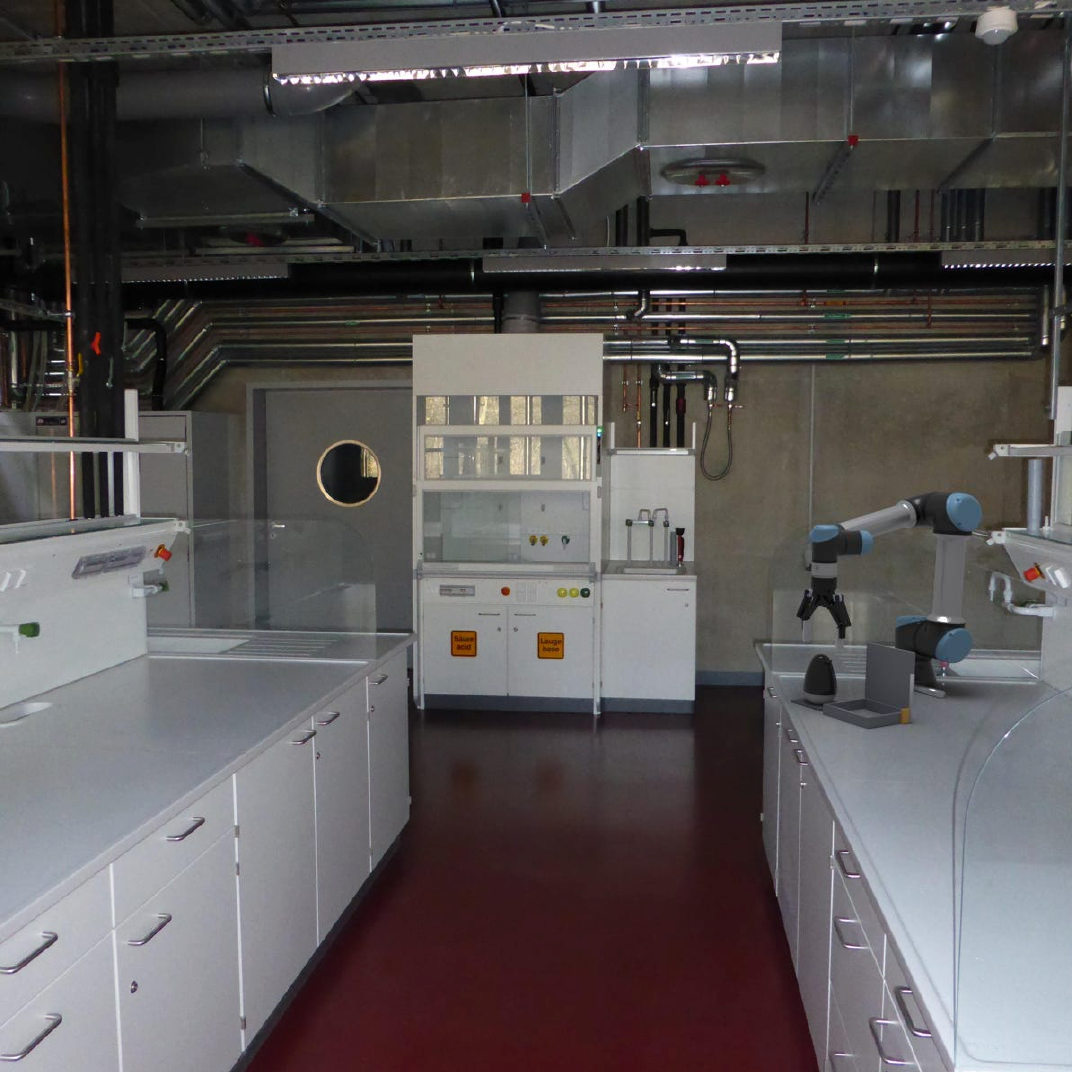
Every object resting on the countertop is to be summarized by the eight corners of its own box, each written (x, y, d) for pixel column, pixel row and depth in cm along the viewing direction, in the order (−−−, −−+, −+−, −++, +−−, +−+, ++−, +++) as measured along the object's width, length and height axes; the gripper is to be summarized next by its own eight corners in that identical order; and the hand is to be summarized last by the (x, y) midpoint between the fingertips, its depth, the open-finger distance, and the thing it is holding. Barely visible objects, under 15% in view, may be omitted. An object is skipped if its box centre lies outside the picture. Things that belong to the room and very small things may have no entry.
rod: (912, 681, 312) (916, 686, 313) (908, 687, 312) (912, 691, 313) (943, 690, 302) (947, 694, 303) (939, 695, 301) (943, 700, 302)
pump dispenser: (814, 708, 287) (816, 658, 285) (795, 699, 297) (797, 651, 295) (844, 706, 289) (846, 656, 288) (825, 697, 299) (826, 649, 298)
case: (866, 706, 290) (868, 642, 289) (915, 722, 274) (918, 653, 272) (822, 713, 282) (825, 647, 280) (871, 730, 266) (874, 659, 264)
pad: (819, 697, 301) (819, 696, 301) (848, 706, 291) (848, 704, 291) (790, 701, 296) (790, 700, 296) (819, 710, 285) (819, 709, 285)
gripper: (785, 572, 299) (784, 639, 301) (846, 582, 277) (844, 654, 279) (803, 570, 303) (802, 636, 305) (864, 580, 281) (863, 651, 283)
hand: (822, 645), depth 292 cm, fingers open, 13 cm apart
